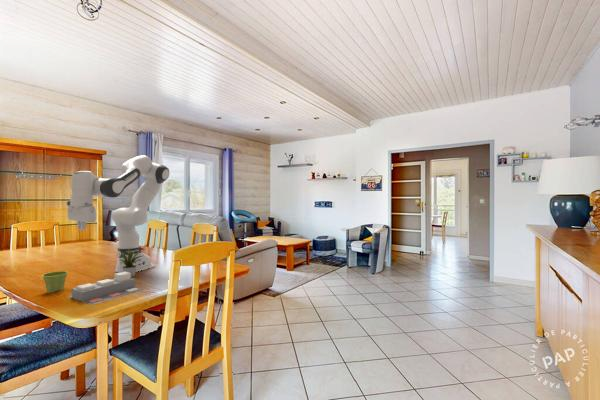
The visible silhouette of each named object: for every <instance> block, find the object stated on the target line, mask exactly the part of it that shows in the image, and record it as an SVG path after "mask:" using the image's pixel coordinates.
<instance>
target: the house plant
mask: <svg viewBox="0 0 600 400" xmlns="http://www.w3.org/2000/svg"><path fill="white" fill-rule="evenodd" d="M135 251H136V250H135ZM135 251H134V252H135ZM134 252H133V253H131V250H130V251H128V257H126V256H127V255H126V256H125V254H123V252H122V254H123V255H122V254H118V255H121V257H122V256H123V257H122V258H123V259H124V260H125V261H124V260H122V259H120V261H123V262H120V263H125V265H126V266H123V267H122V269H123V272H129V273H131V277H134V276H135V275H136V273H137V272H136V267H137V266H136V265H133V264H134V263H135V264H136V262H137V261H136V259H137V258H139V257H142V256H138V257H136V258H135V256H136V255H137V254H138V253H139V252H140V251H139V252H138V253H136V254H135V255H134V257H133V258H132V256H133V254H134ZM118 255H117V256H118ZM139 255H140V253H139ZM127 259H128V260H127ZM131 259H132V260H131ZM137 260H138V261H141V259H137ZM120 265H121V264H120Z"/></svg>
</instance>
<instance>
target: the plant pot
mask: <svg viewBox="0 0 600 400" xmlns="http://www.w3.org/2000/svg"><path fill="white" fill-rule="evenodd" d="M68 273H69V272H68V271H66V270H65V271H64V270H60V271H51V272H47V273H43V274H42V275H41V276H42V278H43V281H44V285H45V289H46V293H47V294H51V293H55V292H60V291H64V289H65V284H66V277H67V275H68Z"/></svg>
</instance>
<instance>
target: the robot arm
mask: <svg viewBox="0 0 600 400" xmlns="http://www.w3.org/2000/svg"><path fill="white" fill-rule="evenodd" d="M120 171H121V173H122V175H120V176H119V177H114V178H101V177H99V176H97V175H95V174H94V173H93V171H90V170H79V171H74V172H73V173H72V176H71V180H70V181H71V182H70V183H71V184H70V188H71V189H70V190H71V196H70V199H69V200H67V201H66V206H67V219H68V220H69V221H74V222H75V221H76V225H77V228H78V231H86V226H87V224H88V223H96V221H97V211H96V208H95V206H94V197H103V198H113V199H115V198H117V197H119V196H121V195H122V193H123V192H124V190H125V189H127V187H129V186H130V185H131V184H132V183H134V182H135V181H137V180H139V178H140V177H143V178H145V180H144V182H142V184H141V185H140V186H139V188H137V190H136V191H135V192H134V194H133V195H132V196H131V200H132V201H131V203H130V206H129V207H120V208H119V207H118V208H117V209H115V210H113V212H112V214H111V220H112V221H113V223H114V225H115V227H116V231H117V236H118V239H117V241H118V247H117V254H116V255H117V261H116V267H115V270H114V272H115V273H120V272H123V269H122V267H123V266H126V265H125V263H120V262H123V261H120V259H122V260H124V259H123V258H122V257H123V256H122V257H121V255H118V254H122V252H123V254H125V256H126V255H127V256H126V257H128V251H130V250H131V253H133V252H134V251H135V250H136V251H135V252H134V254H133V256H132V258H133V257H134V255H135V254H136V253H138V252H139V251H140V252H139V253H140V255H139V253H138V254H137V255H136V256H135V258H136V257H138V256H142V257H139V258H137V259H141V261H138V260H137V259H136V261H137V262H136V264H135V263H134V264H133V265H136V266H137V267H136V272H135V273H137V272H138V271H139V272H141V270H142V271H145V270H149V269H152V268H155V267H156V264H155V263H152V259H151V257H150V256H149V255H147V254H145V253H144V252H142V251H145V250H146V248H145V247H144V246H140V234H139V232H138V230H137V229H136V227H139V226H143V225H144V224H145V223H146V222H147V221H148V214H147V212H148V209H149V206H150V205H151V203H152V202H153V200H154V199H155V197H156V196H157V195H158V193H159V192H160V188H161V187H162V184H163V183H164V182H166V181H167V180H168V178H169V176H170V169H169V168H168V167H167V165H163V164H159V163H157V162H153V161H152V159H151V157H150V156H147V155H145V154H143V155H137V156H135V157H133V158H130V159H128V160H126V161H125V162H123V164H121V166H120ZM123 254H122V255H123ZM127 260H128V259H127ZM131 260H132V259H131ZM124 261H125V260H124ZM120 264H121V265H120ZM148 268H149V269H148Z"/></svg>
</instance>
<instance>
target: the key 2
mask: <svg viewBox="0 0 600 400" xmlns="http://www.w3.org/2000/svg"><path fill="white" fill-rule="evenodd" d="M131 278H132V276H131V273H129V272H115V273H114V279H115V280H116V281H119V282H121V281H125V280H129V279H131Z"/></svg>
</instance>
